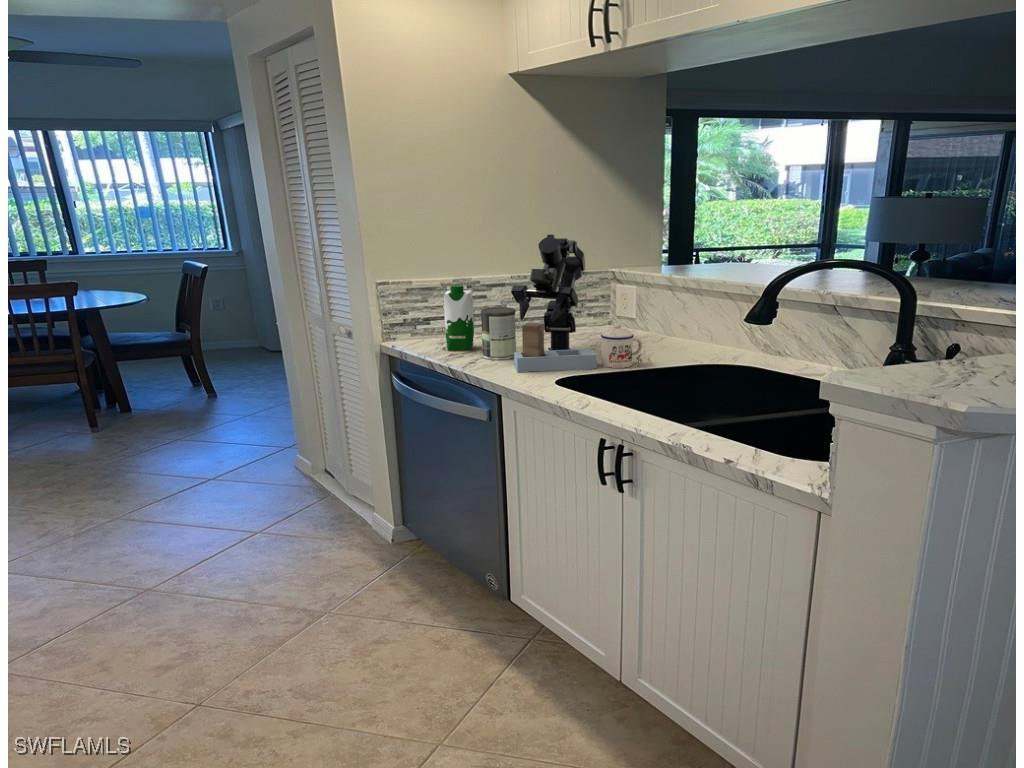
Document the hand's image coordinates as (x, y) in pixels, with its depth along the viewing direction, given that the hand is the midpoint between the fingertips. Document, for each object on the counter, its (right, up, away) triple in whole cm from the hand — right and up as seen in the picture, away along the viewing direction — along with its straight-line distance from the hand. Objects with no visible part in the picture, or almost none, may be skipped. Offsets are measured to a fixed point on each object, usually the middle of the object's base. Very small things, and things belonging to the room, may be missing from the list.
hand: (536, 320), depth 213 cm
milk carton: (-23, -7, +30) cm, 38 cm away
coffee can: (-11, -10, +17) cm, 22 cm away
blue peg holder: (+5, -13, +2) cm, 14 cm away
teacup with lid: (+24, -13, +3) cm, 27 cm away
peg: (-1, -13, +1) cm, 14 cm away
